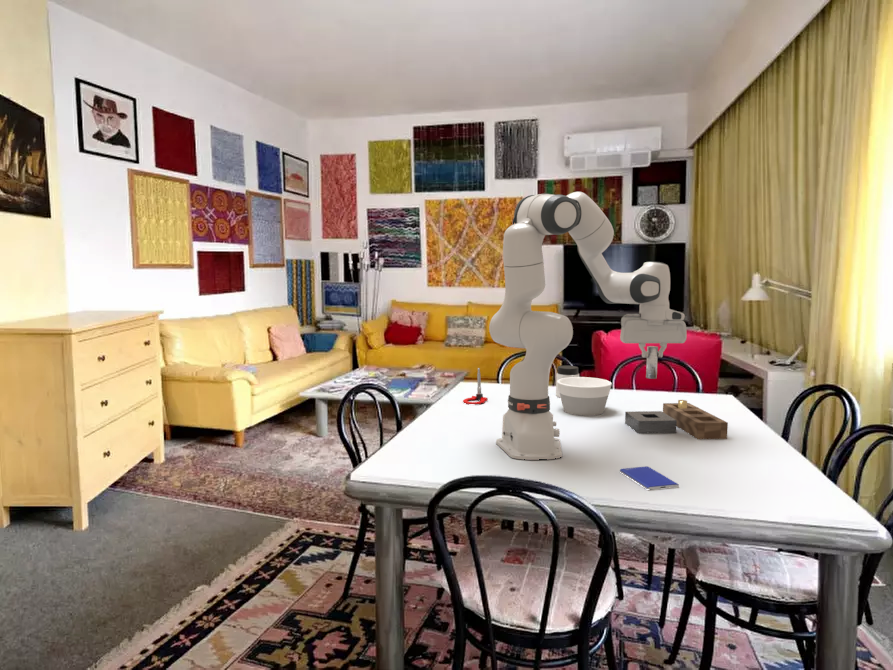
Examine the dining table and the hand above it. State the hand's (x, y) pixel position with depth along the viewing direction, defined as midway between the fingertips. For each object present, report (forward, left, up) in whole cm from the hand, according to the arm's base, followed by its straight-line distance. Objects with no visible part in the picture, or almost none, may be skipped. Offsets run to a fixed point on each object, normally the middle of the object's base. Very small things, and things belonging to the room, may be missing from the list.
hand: (652, 357), depth 187 cm
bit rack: (0, -14, -23) cm, 27 cm away
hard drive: (-46, +18, -24) cm, 55 cm away
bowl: (+24, +15, -23) cm, 37 cm away
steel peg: (0, 0, -7) cm, 7 cm away
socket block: (0, 0, -23) cm, 23 cm away
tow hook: (+40, +53, -23) cm, 70 cm away
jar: (+48, +15, -23) cm, 55 cm away
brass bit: (+8, -14, -23) cm, 28 cm away
